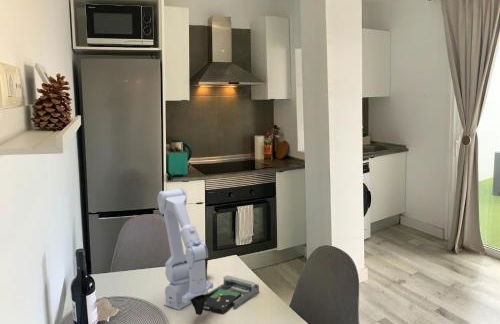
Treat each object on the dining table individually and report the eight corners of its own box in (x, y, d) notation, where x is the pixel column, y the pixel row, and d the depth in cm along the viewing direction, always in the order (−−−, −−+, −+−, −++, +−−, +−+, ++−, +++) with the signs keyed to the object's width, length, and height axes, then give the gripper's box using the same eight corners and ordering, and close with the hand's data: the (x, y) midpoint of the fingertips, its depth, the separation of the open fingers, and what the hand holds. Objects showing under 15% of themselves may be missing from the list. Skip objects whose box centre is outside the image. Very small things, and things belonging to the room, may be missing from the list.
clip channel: (234, 308, 154) (234, 295, 153) (206, 299, 161) (205, 287, 161) (258, 292, 167) (258, 280, 166) (231, 284, 175) (231, 273, 174)
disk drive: (223, 316, 150) (242, 298, 163) (223, 309, 149) (241, 292, 162) (199, 311, 154) (219, 294, 167) (199, 304, 154) (219, 287, 167)
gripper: (192, 287, 138) (193, 325, 139) (219, 272, 150) (220, 308, 151) (176, 283, 142) (178, 320, 143) (204, 269, 154) (205, 303, 155)
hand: (199, 313), depth 148 cm, fingers closed
